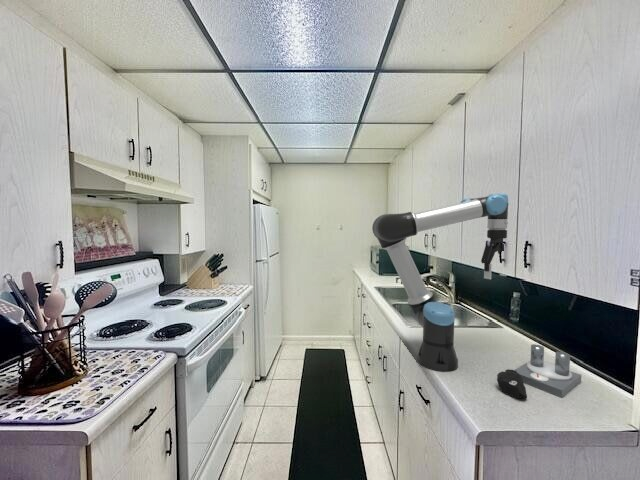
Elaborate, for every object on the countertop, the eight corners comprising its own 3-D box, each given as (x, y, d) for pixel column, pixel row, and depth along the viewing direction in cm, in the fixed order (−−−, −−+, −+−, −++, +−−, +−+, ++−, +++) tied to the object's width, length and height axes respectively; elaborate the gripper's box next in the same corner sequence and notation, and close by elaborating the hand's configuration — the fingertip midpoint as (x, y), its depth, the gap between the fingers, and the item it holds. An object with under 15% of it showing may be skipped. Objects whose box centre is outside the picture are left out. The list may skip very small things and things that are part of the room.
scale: (561, 397, 97) (562, 387, 97) (511, 377, 110) (511, 368, 109) (581, 381, 107) (581, 372, 107) (533, 365, 120) (533, 356, 119)
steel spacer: (566, 377, 103) (567, 357, 103) (552, 372, 107) (553, 353, 106) (571, 374, 105) (571, 354, 105) (557, 369, 109) (558, 350, 108)
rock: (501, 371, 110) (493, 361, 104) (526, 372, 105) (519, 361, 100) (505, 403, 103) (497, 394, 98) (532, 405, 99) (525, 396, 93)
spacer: (540, 368, 110) (541, 349, 109) (528, 364, 113) (529, 346, 113) (545, 365, 112) (546, 347, 111) (533, 361, 115) (533, 343, 115)
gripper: (491, 229, 121) (489, 281, 123) (519, 229, 135) (517, 275, 136) (473, 229, 128) (471, 278, 129) (502, 228, 141) (500, 273, 143)
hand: (495, 277), depth 133 cm, fingers open, 13 cm apart
